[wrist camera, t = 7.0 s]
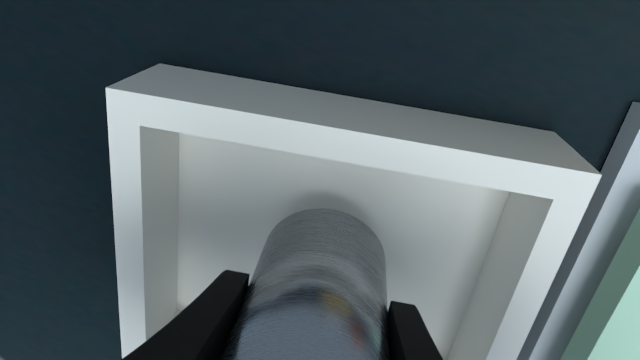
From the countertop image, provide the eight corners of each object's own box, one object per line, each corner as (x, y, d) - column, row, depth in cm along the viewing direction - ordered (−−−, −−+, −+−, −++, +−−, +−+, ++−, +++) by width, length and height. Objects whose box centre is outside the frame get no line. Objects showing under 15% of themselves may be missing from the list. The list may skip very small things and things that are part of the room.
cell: (369, 321, 14) (366, 566, 8) (256, 296, 14) (175, 522, 8) (399, 223, 12) (422, 443, 7) (272, 195, 13) (186, 390, 7)
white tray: (460, 369, 17) (476, 445, 14) (161, 312, 17) (123, 375, 15) (554, 131, 13) (602, 175, 10) (159, 63, 13) (105, 87, 11)
